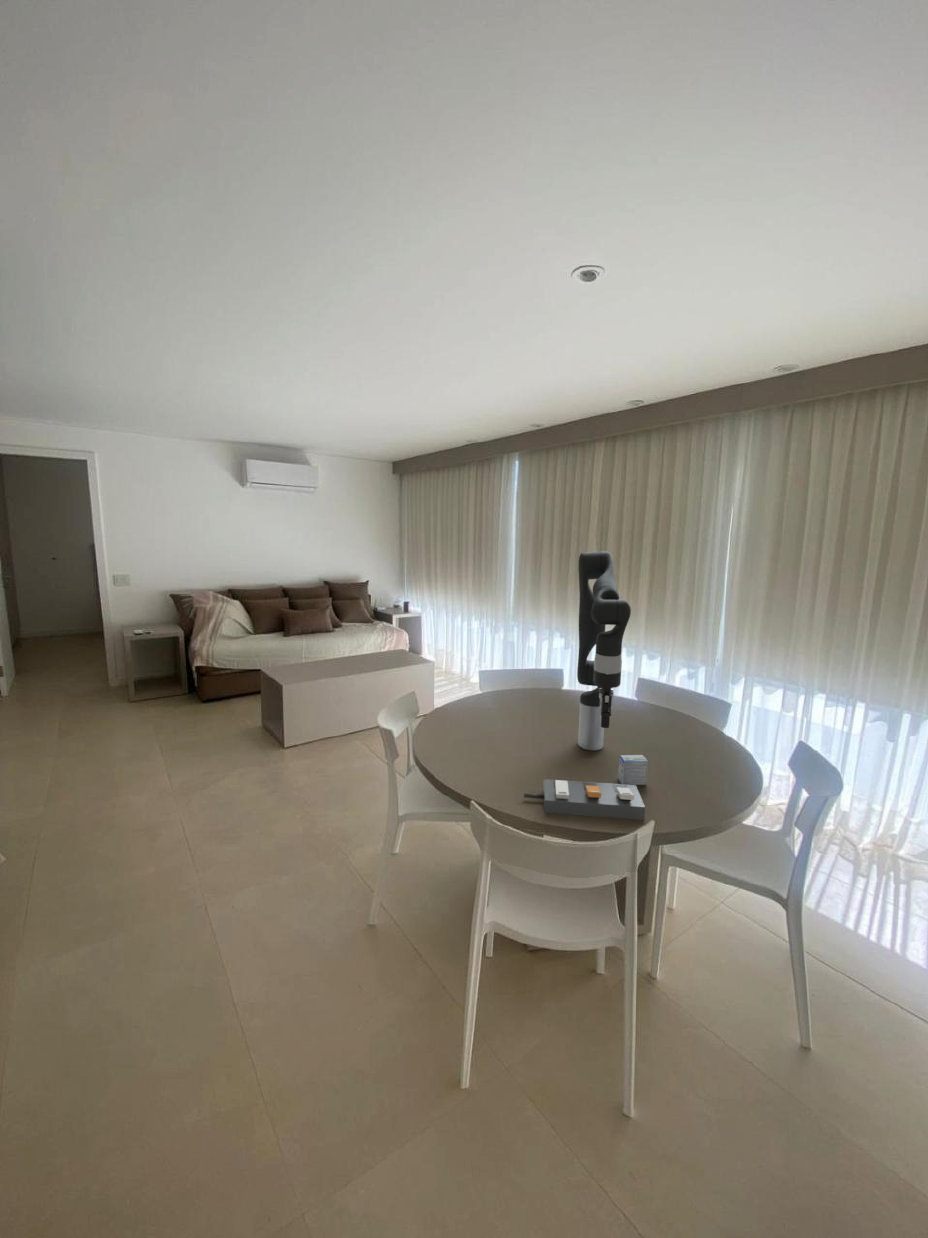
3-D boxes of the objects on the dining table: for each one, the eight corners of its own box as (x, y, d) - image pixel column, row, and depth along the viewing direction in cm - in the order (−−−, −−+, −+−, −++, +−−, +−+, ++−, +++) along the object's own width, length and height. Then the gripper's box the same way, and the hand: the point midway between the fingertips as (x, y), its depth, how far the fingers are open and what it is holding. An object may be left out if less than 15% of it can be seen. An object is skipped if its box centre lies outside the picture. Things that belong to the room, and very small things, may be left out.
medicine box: (641, 778, 159) (643, 754, 157) (646, 785, 154) (648, 760, 153) (617, 779, 159) (619, 754, 157) (622, 786, 154) (624, 761, 153)
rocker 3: (616, 792, 142) (616, 787, 142) (629, 792, 142) (629, 787, 142) (620, 799, 136) (620, 793, 136) (633, 800, 136) (633, 794, 136)
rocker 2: (585, 790, 143) (585, 785, 143) (597, 790, 143) (597, 785, 143) (588, 796, 137) (588, 791, 137) (601, 797, 137) (601, 792, 137)
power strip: (524, 789, 152) (524, 776, 151) (634, 797, 148) (635, 783, 147) (523, 811, 140) (524, 796, 140) (644, 820, 136) (645, 805, 135)
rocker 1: (555, 783, 145) (555, 779, 144) (567, 784, 144) (567, 780, 144) (556, 798, 139) (556, 794, 139) (568, 799, 139) (569, 795, 138)
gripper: (594, 660, 145) (591, 711, 148) (594, 675, 131) (591, 730, 135) (620, 662, 143) (616, 713, 146) (622, 677, 129) (619, 733, 133)
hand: (604, 721), depth 140 cm, fingers open, 8 cm apart
